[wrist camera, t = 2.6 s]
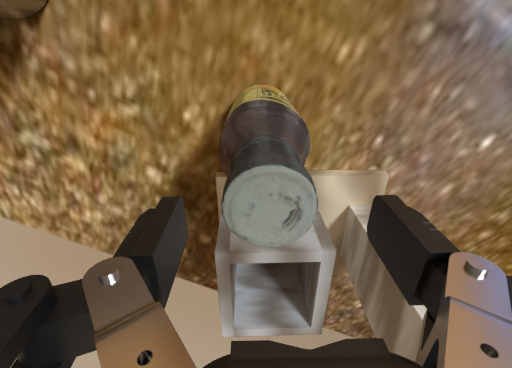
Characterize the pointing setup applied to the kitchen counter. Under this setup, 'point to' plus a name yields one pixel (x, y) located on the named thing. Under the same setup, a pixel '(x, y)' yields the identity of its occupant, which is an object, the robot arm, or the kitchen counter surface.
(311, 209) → the sauce bottle
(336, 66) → the kitchen counter surface
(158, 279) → the robot arm
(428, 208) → the kitchen counter surface
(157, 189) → the kitchen counter surface
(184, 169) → the kitchen counter surface
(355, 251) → the grey holder stand
